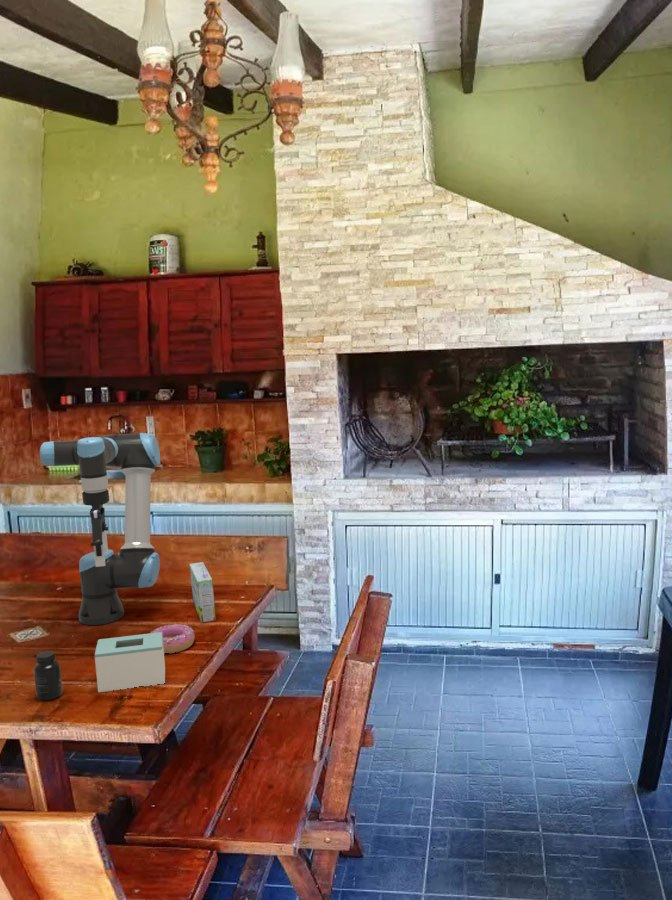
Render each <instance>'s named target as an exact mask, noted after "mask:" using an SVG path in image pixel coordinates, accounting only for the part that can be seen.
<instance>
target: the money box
mask: <svg viewBox="0 0 672 900" xmlns="http://www.w3.org/2000/svg"><path fill="white" fill-rule="evenodd" d="M96 643H97V644H96V647H95V652H94V662H95V664H94V665H95V674H96V683H97V684H96V685H97V692H98V693H103V692H112V691H113V690H114V691H120V689H121V690H128V689H127V688H129V689H134V687H137V688H140V687H139V686H144V687H151V686H150V685H152V686H158V685H157V684H160V685H165V684H166V663H165V662H166V660H165V654H164V647H163V635H162V632H158V633H151V632H150V633H143V634H134V635H133V634H132V635H125V636H119V637H118V636H117V637H109V638H100V639H98V640H97V642H96ZM164 683H165V684H164Z"/></svg>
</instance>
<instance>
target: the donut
mask: <svg viewBox="0 0 672 900" xmlns="http://www.w3.org/2000/svg"><path fill="white" fill-rule="evenodd" d="M158 632H162V635H163V647H164V655H166V654H165V653H169V654H176V653H179V652H183V651H185V650H187V649H189V648H190V647H191V646H192V645H193V644H194V641H195V639H196V637H195V632H194V630H193V627H192V626H188V625H186V624H177V623H176V624H175V623H173V624H172V623H171V624H165V625H162V626H160V627H157V628H155V629H153V630H151V631H150V633H158ZM175 652H176V653H175Z"/></svg>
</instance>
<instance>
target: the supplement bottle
mask: <svg viewBox="0 0 672 900" xmlns="http://www.w3.org/2000/svg"><path fill="white" fill-rule="evenodd" d="M35 658H36V665H34V667H33V676H34V685H35V696H36V699H38V700H39V701H41V702H42V701H43V702H44V701H54V700H56V699H57V698H59V697H60V696H62V694H63V691H64V690H63V681H62V673H61V672H62V671H61V670H62V669H61V664H60V663H59V662H58V661H57V660H56V653H55V652H54V651H52V650H46V651H42V652H39V653H38V654H37V655H36V657H35Z"/></svg>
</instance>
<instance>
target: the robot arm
mask: <svg viewBox="0 0 672 900" xmlns="http://www.w3.org/2000/svg"><path fill="white" fill-rule="evenodd" d="M160 451H161V450H160V447H159V442H158V439H157V438H156V436H155V435H154V434H152V433H149V432H148V433H145V432H144V433H143V432H137V433H135V432H134V433H120V434H119V433H118V434H117V433H116V434H115V433H114V434H107V435H101V436H98V437H97V436H91V437H89V436H88V437H84V438H80V439H79V440H59V441H58V440H57V441H55V440H54V441H53V440H52V441H44V442H43V443H42V444H41V446H40V447H39V460H40V461H41V462H40V463H42V465H43V466H45V467H60V466H61V467H63V466H79V474H80V480H78V483H79V484H81V490H82V493H81V496H82V503H83V505H85V506H89V507H90V506H91V508H90V511H89V516H90V524H91V534H92V537H91V538H92V542H90V546H91V547H93V551H91V552H89V553H86V554H85V555H82V557H81V558H80V559H79V562H78V564H79V566H78V567H79V570H78V572H79V578H80V588H81V597H82V599H81V603H80V606H79V611H78V621H79V622H80V623H81V624H82V625H83V624H84V625H88V626H97V625H107V624H110V623H114V622H115V621H119V620H120V619H122V618H123V617H124V616H125V608H124V606H123V604H122V601H121V599H120V597H119V595H118V589H134V588H135V589H137V588H139V589H143V588H150V587H153V586H154V585H155V583H156V582H157V581H158V577H159V573H160V567H161V561H160V559H161V556H160V555H159V553H158V552H155V547H154V546H153V545H152V544H151V486H152V485H151V482H152V481H151V476H152V475H153V474H154V473H155V472H156V467H157V466H159V465H161V452H160ZM107 467H109V468H121V469H120V471H121V473H122V474H123V475H124V476H125V487H124V488H125V491H124V492H125V496H124V498H125V503H124V504H125V507H124V508H125V509H124V544H123V545H122V546H121V547H120V549H119V554H115V552H114V550H113V549H110V548H109V546H108V536H107V535H108V534H107V531H109V526H107V524H106V517H105V516H106V515H105V513H106V512H105V509H106V508H105V507H104V505H105V504H109V502H110V493H109V492H110V491H109V489H108V488H109V482H108V473H107Z"/></svg>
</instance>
